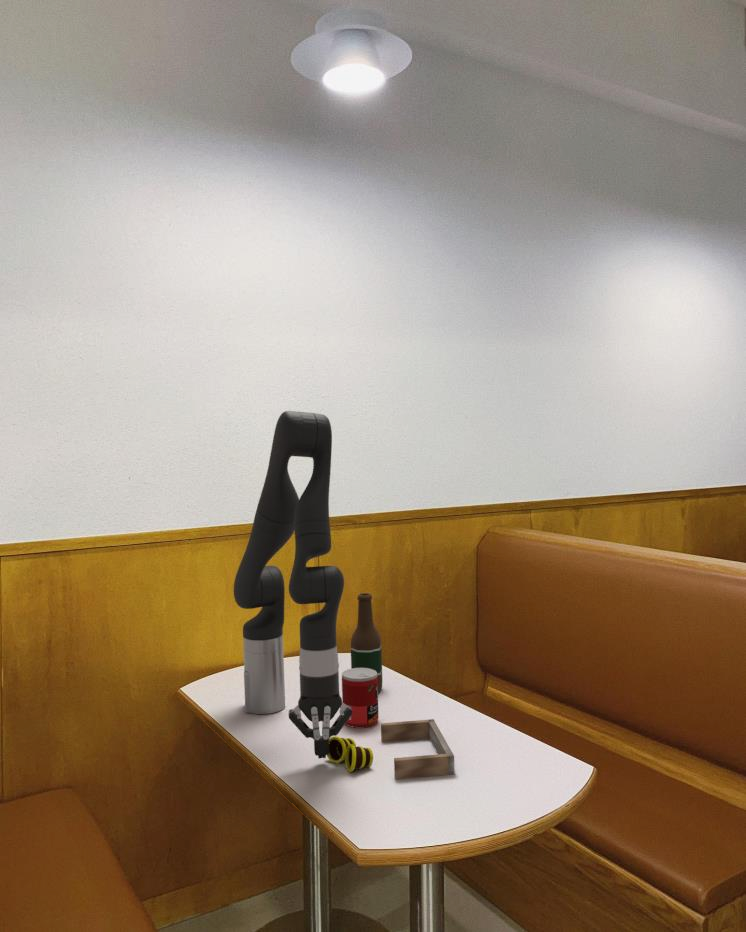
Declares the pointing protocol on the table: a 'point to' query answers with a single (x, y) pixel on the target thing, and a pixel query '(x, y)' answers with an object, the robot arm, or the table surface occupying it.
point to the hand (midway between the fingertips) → (321, 756)
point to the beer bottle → (366, 640)
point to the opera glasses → (349, 753)
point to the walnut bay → (419, 764)
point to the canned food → (361, 696)
